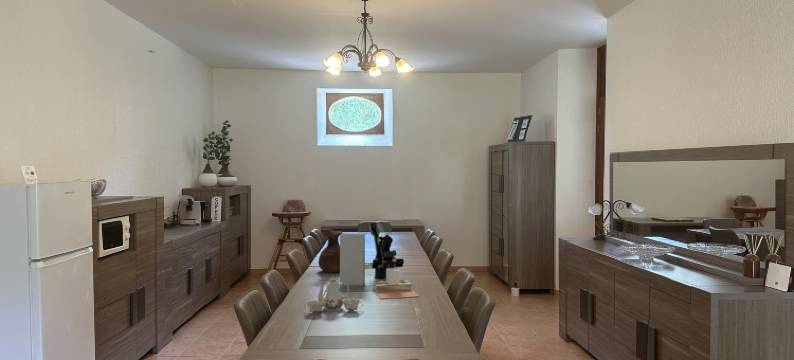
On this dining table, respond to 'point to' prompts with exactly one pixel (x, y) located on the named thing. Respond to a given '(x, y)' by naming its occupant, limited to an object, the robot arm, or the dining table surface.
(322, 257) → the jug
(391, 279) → the block
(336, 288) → the chinaware
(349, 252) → the tall white box
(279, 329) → the dining table surface
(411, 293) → the mat
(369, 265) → the decorative card
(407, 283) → the board
